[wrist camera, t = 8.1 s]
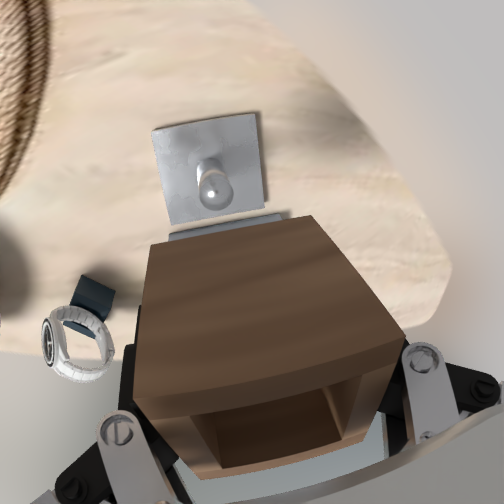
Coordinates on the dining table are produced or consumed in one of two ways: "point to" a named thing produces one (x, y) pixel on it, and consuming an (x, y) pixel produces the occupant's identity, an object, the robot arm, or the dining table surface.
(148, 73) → the dining table surface
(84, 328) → the watch
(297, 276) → the collar
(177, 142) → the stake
